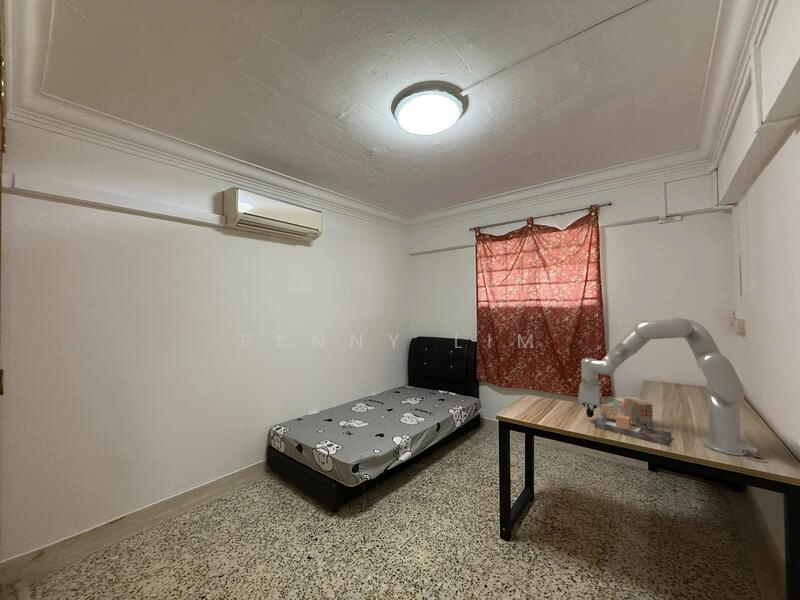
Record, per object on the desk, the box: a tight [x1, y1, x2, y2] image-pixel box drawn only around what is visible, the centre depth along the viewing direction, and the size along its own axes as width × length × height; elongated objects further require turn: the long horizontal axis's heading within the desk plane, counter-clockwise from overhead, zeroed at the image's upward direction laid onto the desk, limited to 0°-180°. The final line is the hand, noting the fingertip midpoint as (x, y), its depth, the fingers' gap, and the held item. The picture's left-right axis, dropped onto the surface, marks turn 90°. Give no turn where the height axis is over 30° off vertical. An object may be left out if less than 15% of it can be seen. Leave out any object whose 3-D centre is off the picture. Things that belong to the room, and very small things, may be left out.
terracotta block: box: [615, 415, 631, 429], centre depth 152 cm, size 5×5×5 cm
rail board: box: [594, 417, 672, 447], centre depth 150 cm, size 28×12×3 cm, turn 42°
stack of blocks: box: [612, 396, 654, 428], centre depth 167 cm, size 21×6×12 cm, turn 177°
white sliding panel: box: [597, 412, 641, 432], centre depth 154 cm, size 16×9×4 cm, turn 42°
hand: (590, 416), depth 163 cm, fingers closed
